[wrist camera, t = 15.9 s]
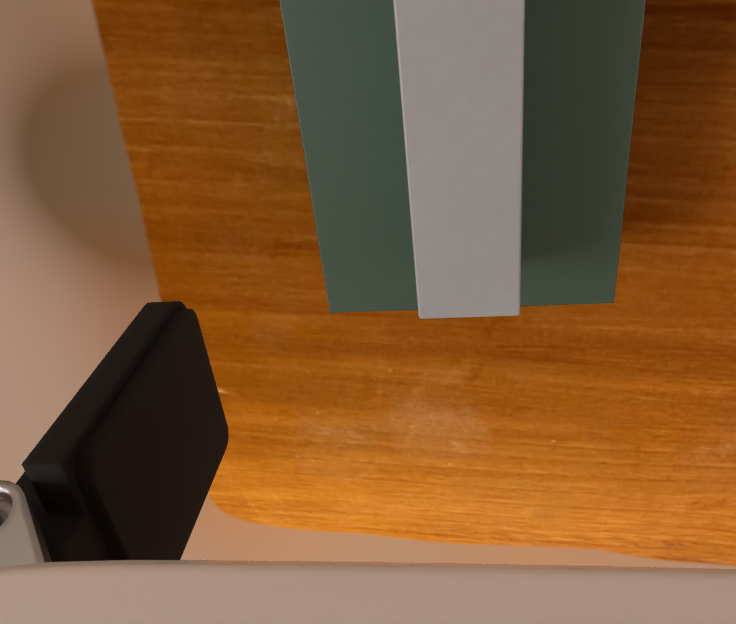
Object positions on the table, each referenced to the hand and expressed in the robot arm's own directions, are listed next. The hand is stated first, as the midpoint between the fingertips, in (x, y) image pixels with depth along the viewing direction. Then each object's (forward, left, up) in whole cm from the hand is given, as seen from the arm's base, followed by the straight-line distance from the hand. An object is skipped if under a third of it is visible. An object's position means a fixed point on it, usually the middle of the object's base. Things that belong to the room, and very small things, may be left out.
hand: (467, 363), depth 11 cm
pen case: (+1, +1, -15) cm, 15 cm away
